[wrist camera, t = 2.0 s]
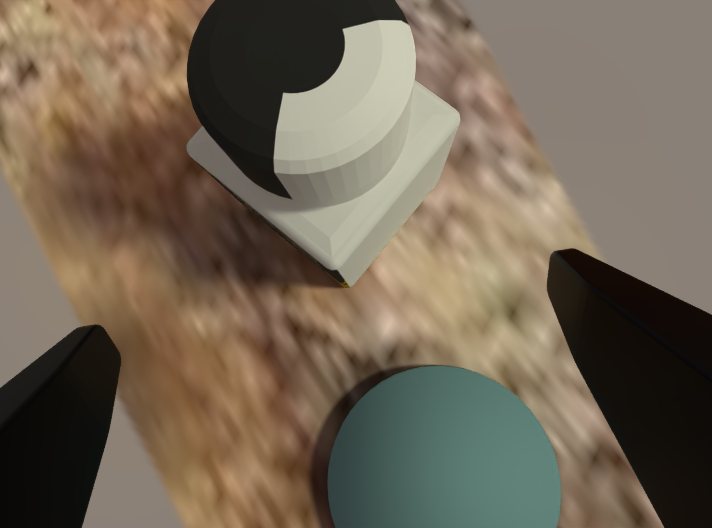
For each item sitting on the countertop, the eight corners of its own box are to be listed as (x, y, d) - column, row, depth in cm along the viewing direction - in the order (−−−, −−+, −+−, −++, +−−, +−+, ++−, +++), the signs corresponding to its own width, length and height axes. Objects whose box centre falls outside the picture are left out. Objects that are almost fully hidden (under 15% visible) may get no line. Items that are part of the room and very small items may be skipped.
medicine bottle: (239, 202, 24) (94, 70, 12) (330, 96, 24) (279, -132, 12) (349, 291, 23) (311, 247, 11) (441, 179, 23) (501, 19, 11)
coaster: (576, 583, 20) (584, 594, 20) (347, 615, 21) (345, 626, 20) (528, 349, 22) (534, 350, 21) (315, 382, 22) (312, 384, 21)
